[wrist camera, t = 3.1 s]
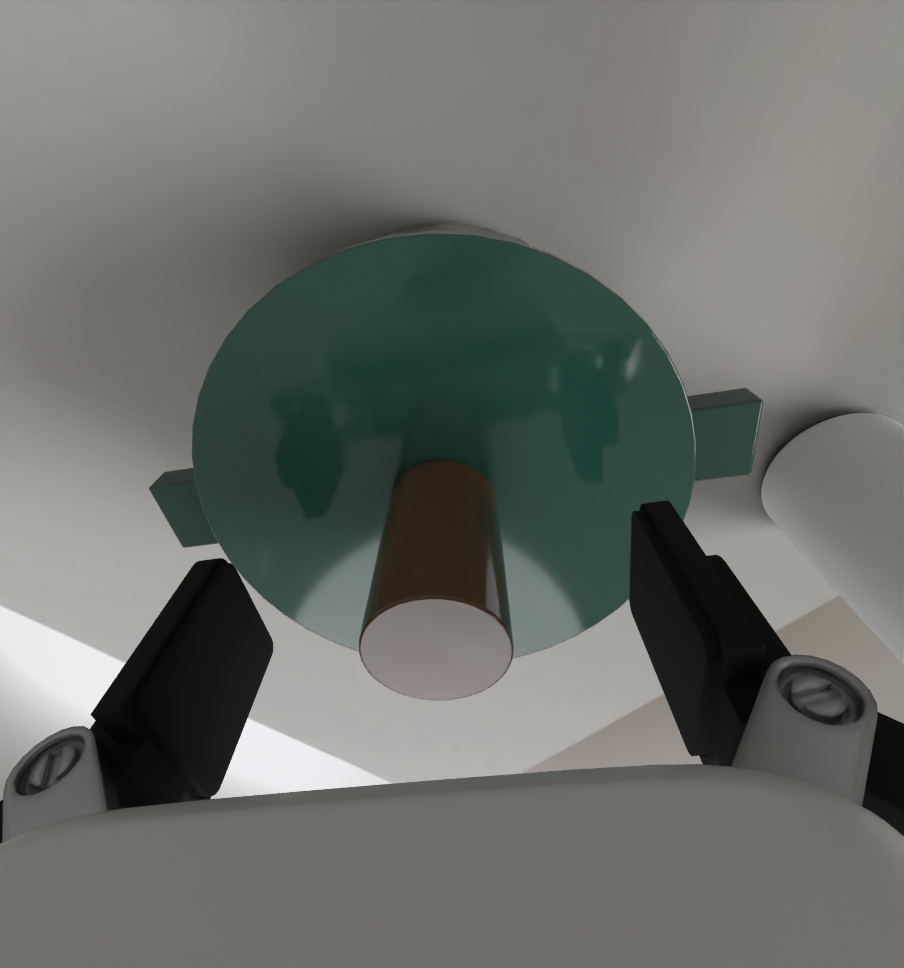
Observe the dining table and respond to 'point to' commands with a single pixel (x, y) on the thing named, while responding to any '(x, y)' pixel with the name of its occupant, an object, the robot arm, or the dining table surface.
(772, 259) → the dining table surface
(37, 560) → the dining table surface
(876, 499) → the can
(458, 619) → the pot lid
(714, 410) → the pot
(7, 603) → the dining table surface
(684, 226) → the dining table surface
